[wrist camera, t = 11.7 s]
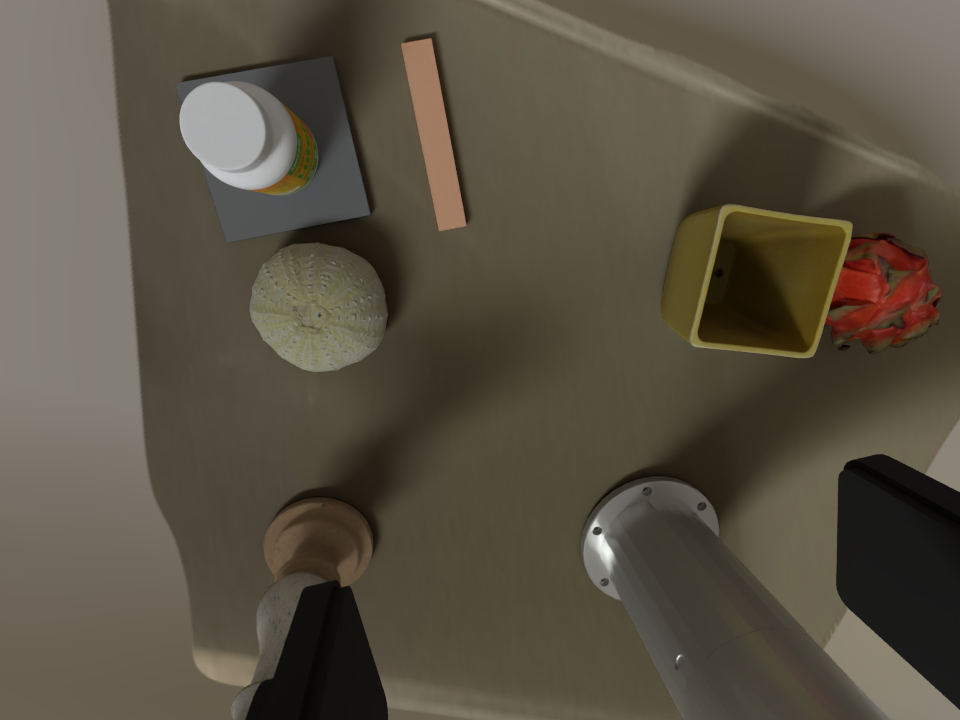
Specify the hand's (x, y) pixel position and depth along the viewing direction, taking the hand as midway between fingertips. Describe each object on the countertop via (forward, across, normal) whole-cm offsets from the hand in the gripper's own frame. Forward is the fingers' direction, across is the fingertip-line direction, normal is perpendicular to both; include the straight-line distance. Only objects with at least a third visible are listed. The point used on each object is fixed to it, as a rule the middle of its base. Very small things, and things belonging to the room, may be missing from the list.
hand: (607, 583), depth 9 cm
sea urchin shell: (+31, +10, -2) cm, 32 cm away
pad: (+30, +10, -13) cm, 35 cm away
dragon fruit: (+31, -29, +4) cm, 42 cm away
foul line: (+30, 0, -12) cm, 33 cm away
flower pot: (+31, -18, +1) cm, 36 cm away
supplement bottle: (+30, +10, -13) cm, 34 cm away
